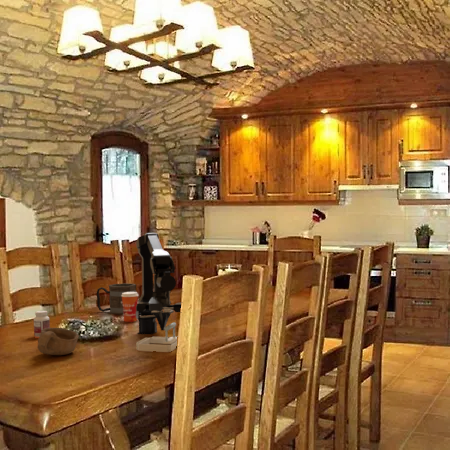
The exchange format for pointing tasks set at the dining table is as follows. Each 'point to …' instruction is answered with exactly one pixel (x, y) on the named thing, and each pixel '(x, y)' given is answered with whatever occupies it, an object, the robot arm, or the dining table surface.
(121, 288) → the mug
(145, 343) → the beige square tray
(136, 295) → the paper cup
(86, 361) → the dining table surface
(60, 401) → the dining table surface
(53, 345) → the bowl
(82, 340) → the dining table surface
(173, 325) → the grey lever handle
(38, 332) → the pill bottle
